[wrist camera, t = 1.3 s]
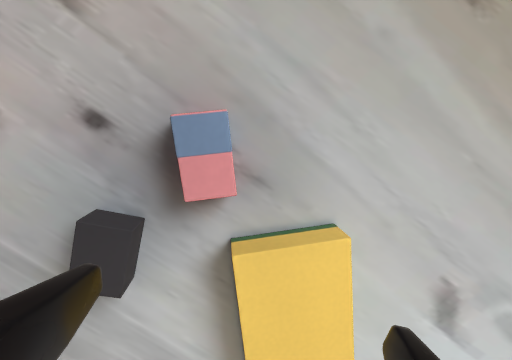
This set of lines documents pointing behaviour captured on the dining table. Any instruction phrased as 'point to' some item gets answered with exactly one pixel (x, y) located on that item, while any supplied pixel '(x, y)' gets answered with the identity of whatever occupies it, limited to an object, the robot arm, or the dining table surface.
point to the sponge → (295, 294)
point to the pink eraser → (204, 154)
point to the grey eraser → (109, 248)
